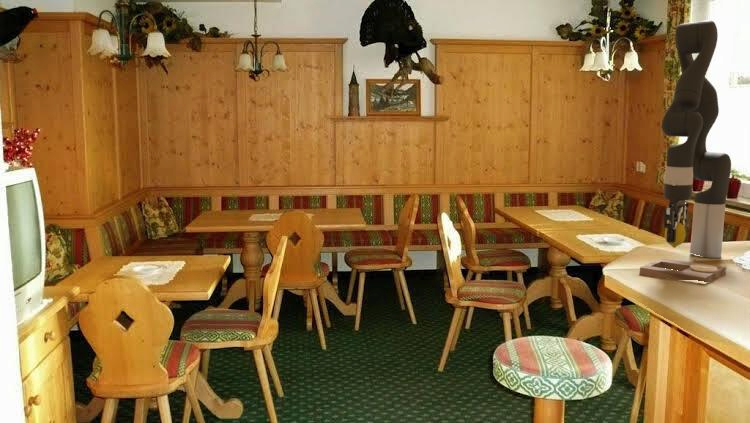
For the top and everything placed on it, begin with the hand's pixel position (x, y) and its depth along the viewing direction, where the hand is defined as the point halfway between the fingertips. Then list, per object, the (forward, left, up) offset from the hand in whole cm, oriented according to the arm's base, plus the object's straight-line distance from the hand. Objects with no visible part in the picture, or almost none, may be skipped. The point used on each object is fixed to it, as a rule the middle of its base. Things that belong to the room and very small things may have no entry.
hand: (674, 240), depth 214 cm
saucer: (-2, +8, -8) cm, 11 cm away
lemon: (0, 0, -2) cm, 2 cm away
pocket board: (-1, +3, -10) cm, 10 cm away
